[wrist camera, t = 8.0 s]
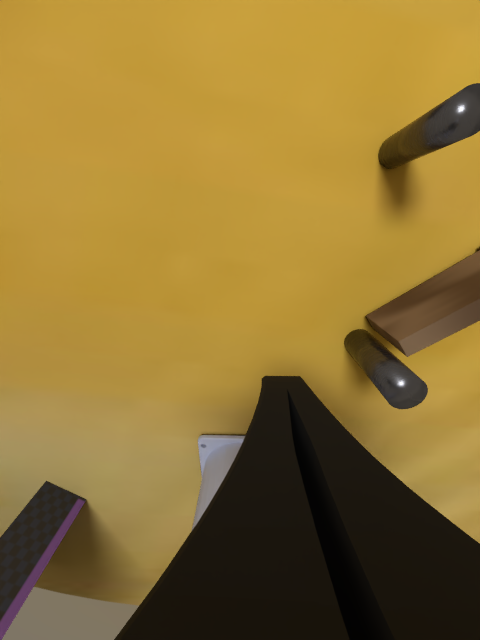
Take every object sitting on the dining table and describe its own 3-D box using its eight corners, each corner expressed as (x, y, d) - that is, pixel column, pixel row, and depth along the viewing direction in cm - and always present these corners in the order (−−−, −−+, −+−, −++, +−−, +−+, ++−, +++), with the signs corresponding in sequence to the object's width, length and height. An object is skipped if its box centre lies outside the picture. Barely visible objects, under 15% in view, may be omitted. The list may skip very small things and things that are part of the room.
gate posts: (369, 353, 18) (421, 409, 12) (342, 352, 18) (383, 408, 12) (415, 134, 13) (539, 63, 7) (378, 135, 13) (473, 66, 7)
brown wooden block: (374, 330, 17) (413, 363, 13) (364, 313, 17) (401, 342, 12) (501, 260, 15) (596, 272, 11) (494, 238, 14) (590, 242, 10)
